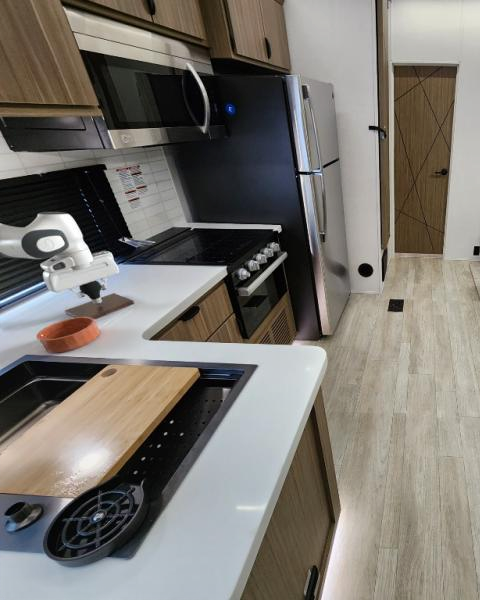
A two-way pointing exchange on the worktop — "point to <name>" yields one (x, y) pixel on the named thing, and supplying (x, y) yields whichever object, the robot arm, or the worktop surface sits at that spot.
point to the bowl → (68, 334)
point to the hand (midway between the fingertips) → (93, 293)
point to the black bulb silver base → (92, 291)
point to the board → (100, 307)
